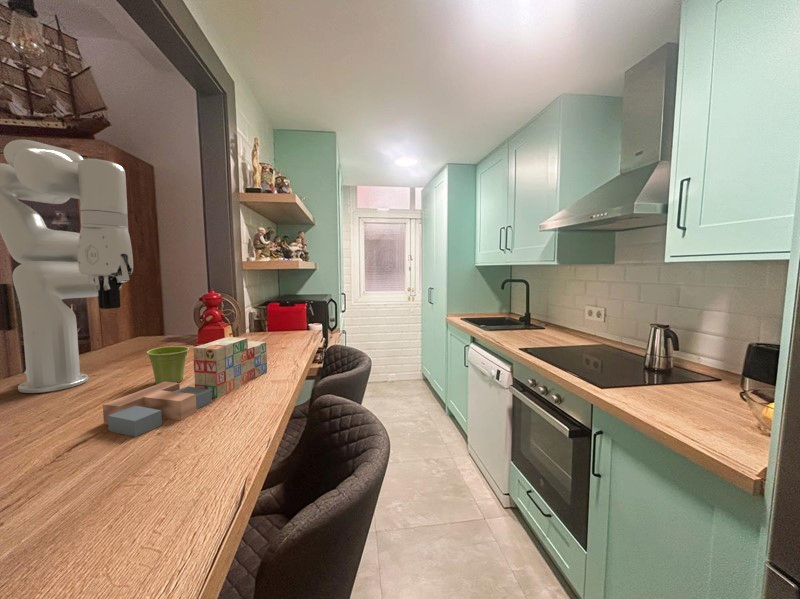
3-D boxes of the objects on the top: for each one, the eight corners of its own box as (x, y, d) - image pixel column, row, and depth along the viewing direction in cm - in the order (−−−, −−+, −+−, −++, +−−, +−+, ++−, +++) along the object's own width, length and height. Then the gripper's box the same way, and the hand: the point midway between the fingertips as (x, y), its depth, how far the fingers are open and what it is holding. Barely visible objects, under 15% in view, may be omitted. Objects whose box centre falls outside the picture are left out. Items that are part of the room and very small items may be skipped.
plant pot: (177, 374, 98) (176, 344, 97) (197, 379, 94) (196, 348, 93) (140, 383, 90) (139, 351, 89) (160, 389, 86) (158, 356, 85)
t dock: (108, 430, 64) (107, 415, 64) (188, 398, 80) (187, 386, 80) (135, 436, 62) (134, 421, 62) (211, 402, 78) (211, 389, 78)
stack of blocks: (248, 370, 103) (247, 330, 102) (267, 372, 102) (266, 331, 101) (194, 396, 82) (192, 346, 81) (217, 398, 81) (216, 348, 80)
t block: (103, 424, 67) (102, 404, 67) (165, 397, 81) (164, 381, 80) (159, 431, 64) (158, 411, 64) (213, 403, 78) (212, 386, 78)
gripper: (59, 220, 70) (65, 308, 72) (110, 218, 66) (115, 312, 68) (100, 224, 77) (105, 304, 79) (149, 224, 73) (152, 308, 75)
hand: (110, 308), depth 73 cm, fingers closed
